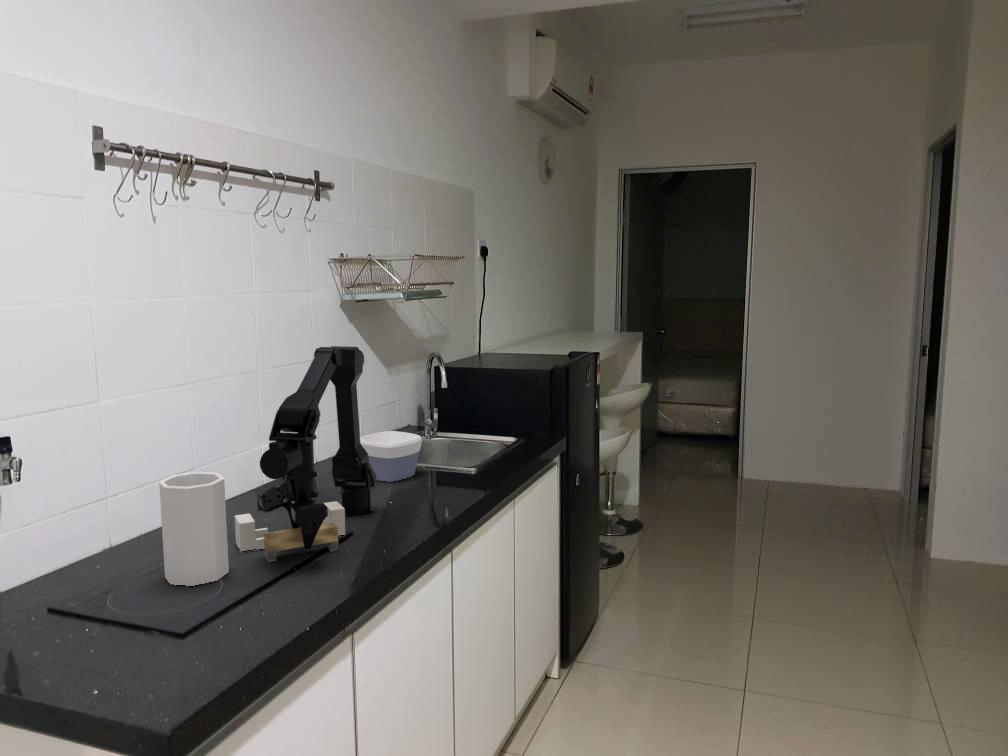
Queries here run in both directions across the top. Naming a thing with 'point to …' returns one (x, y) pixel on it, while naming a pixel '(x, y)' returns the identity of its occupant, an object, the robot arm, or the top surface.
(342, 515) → the stepped white cradle
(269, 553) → the rail
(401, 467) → the bowl
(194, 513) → the cup
